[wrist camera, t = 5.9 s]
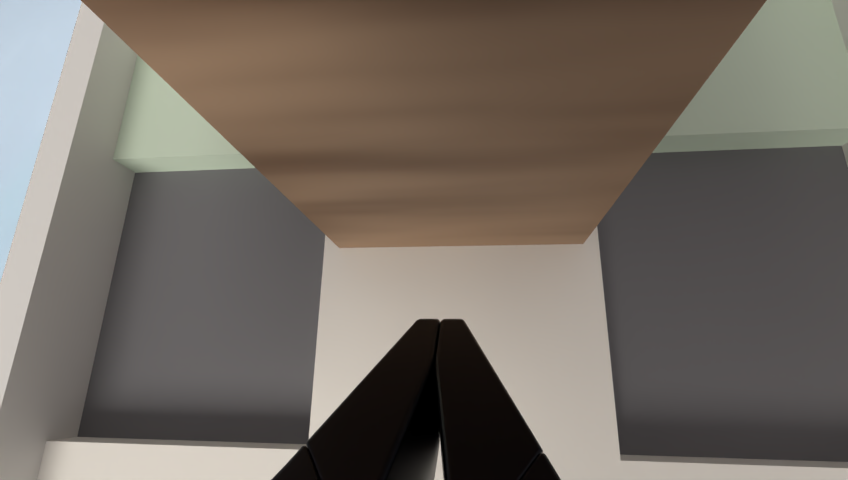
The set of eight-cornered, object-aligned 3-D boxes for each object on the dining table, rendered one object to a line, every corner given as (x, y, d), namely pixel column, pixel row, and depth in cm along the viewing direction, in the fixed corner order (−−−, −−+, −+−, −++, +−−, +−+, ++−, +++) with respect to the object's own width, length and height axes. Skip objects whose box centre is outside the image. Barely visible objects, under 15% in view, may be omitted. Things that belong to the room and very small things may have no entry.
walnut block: (583, 243, 15) (839, -98, 4) (339, 247, 16) (53, -26, 5) (562, 14, 17) (690, -545, 7) (355, 29, 18) (188, -445, 8)
